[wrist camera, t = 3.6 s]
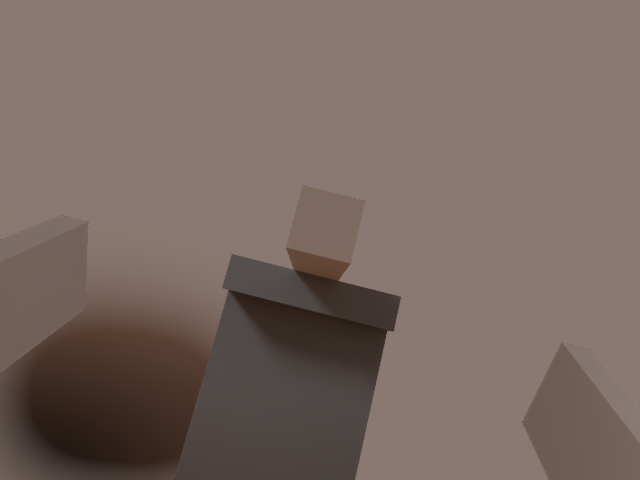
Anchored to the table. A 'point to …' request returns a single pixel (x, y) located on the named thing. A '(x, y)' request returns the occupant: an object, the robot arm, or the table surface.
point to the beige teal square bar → (324, 232)
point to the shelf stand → (287, 377)
